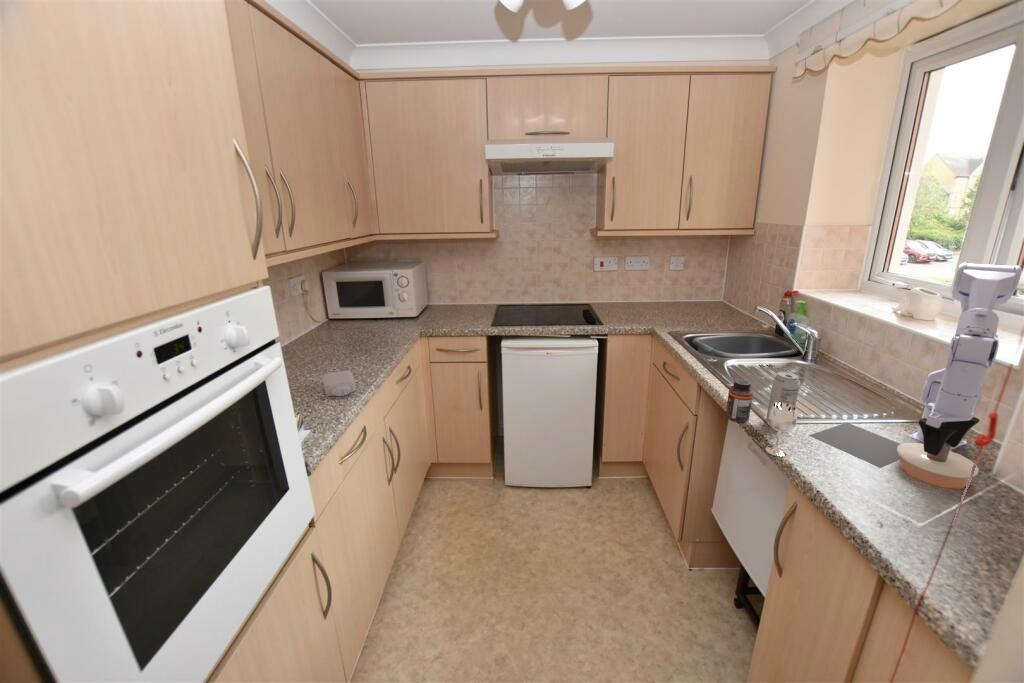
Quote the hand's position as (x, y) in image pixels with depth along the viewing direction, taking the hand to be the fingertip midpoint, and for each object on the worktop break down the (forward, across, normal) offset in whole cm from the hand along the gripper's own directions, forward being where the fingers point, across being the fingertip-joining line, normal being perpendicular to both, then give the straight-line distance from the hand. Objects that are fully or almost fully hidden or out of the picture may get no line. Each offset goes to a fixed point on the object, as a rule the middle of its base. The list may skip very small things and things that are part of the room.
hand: (940, 449), depth 95 cm
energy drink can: (+7, +10, -29) cm, 31 cm away
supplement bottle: (+7, +16, -37) cm, 41 cm away
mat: (+6, 0, -14) cm, 15 cm away
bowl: (+6, 0, 0) cm, 6 cm away
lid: (+3, 0, 0) cm, 3 cm away
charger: (+7, +116, -106) cm, 157 cm away
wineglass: (+7, +22, -21) cm, 31 cm away
